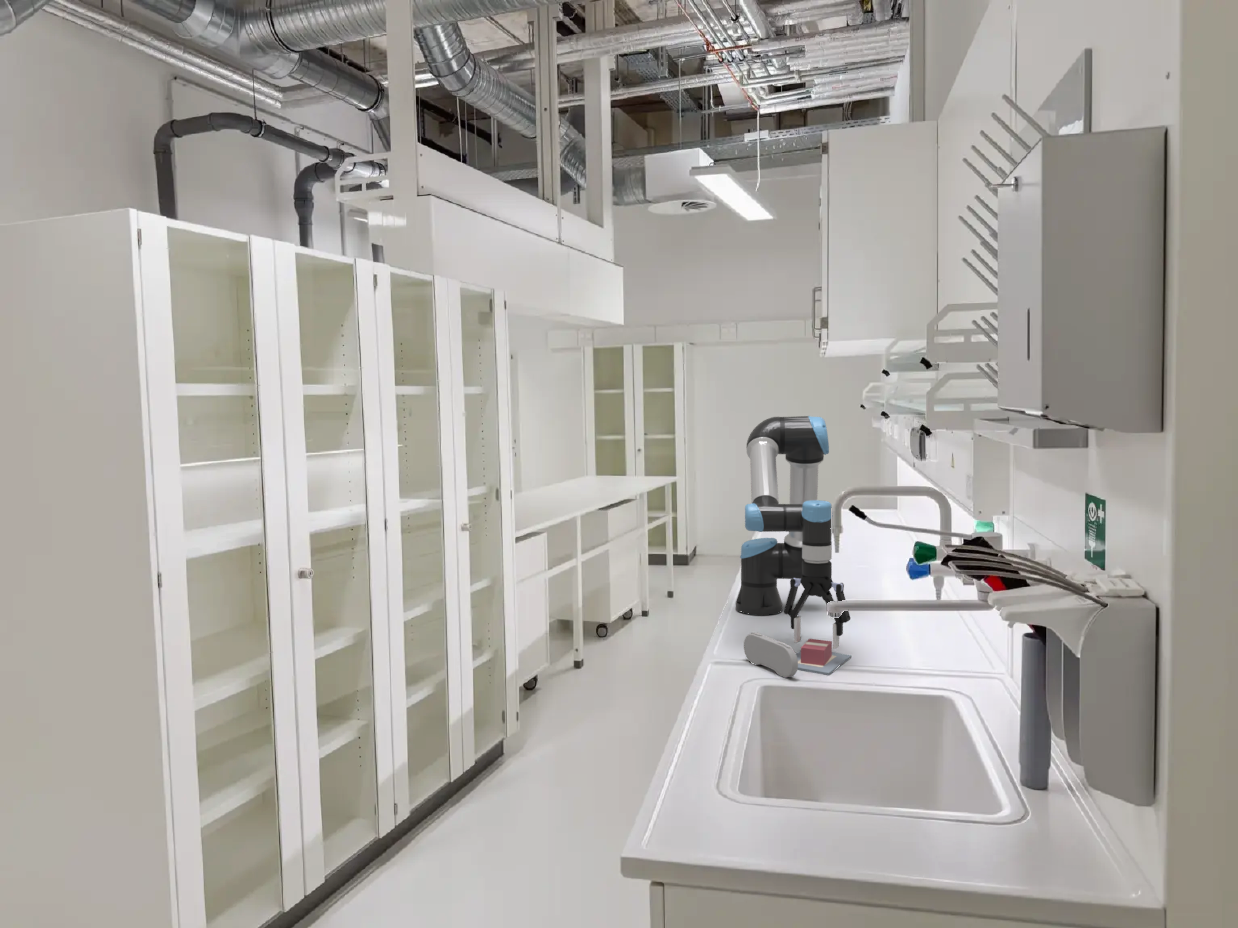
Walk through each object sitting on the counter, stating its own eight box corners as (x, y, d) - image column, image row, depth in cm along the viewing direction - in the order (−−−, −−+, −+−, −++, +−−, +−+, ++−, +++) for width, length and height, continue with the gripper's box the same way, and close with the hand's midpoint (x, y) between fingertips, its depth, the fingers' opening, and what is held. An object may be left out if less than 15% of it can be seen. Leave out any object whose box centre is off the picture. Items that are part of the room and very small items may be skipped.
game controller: (799, 680, 204) (799, 647, 203) (791, 682, 203) (791, 648, 202) (750, 659, 221) (750, 628, 220) (743, 660, 220) (743, 629, 219)
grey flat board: (804, 649, 228) (804, 647, 228) (851, 657, 221) (851, 654, 221) (780, 666, 214) (780, 664, 214) (828, 675, 207) (828, 672, 207)
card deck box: (800, 662, 215) (800, 647, 214) (809, 653, 223) (809, 638, 222) (824, 665, 212) (824, 650, 212) (831, 656, 220) (831, 640, 220)
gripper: (864, 562, 212) (863, 647, 214) (781, 554, 225) (781, 634, 227) (854, 567, 206) (854, 655, 208) (770, 558, 219) (770, 641, 220)
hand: (816, 644), depth 217 cm, fingers open, 10 cm apart
